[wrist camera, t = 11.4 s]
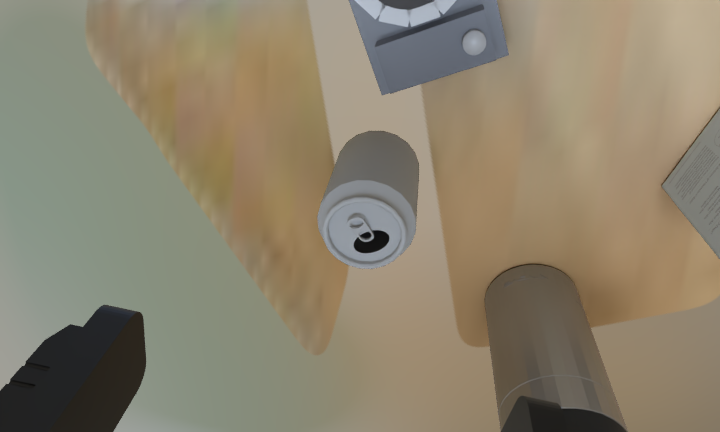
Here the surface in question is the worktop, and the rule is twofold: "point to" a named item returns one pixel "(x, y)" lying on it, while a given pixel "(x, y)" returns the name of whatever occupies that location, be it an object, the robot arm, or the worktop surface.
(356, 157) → the can
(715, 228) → the small box
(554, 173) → the worktop surface
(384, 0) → the lens
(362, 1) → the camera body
